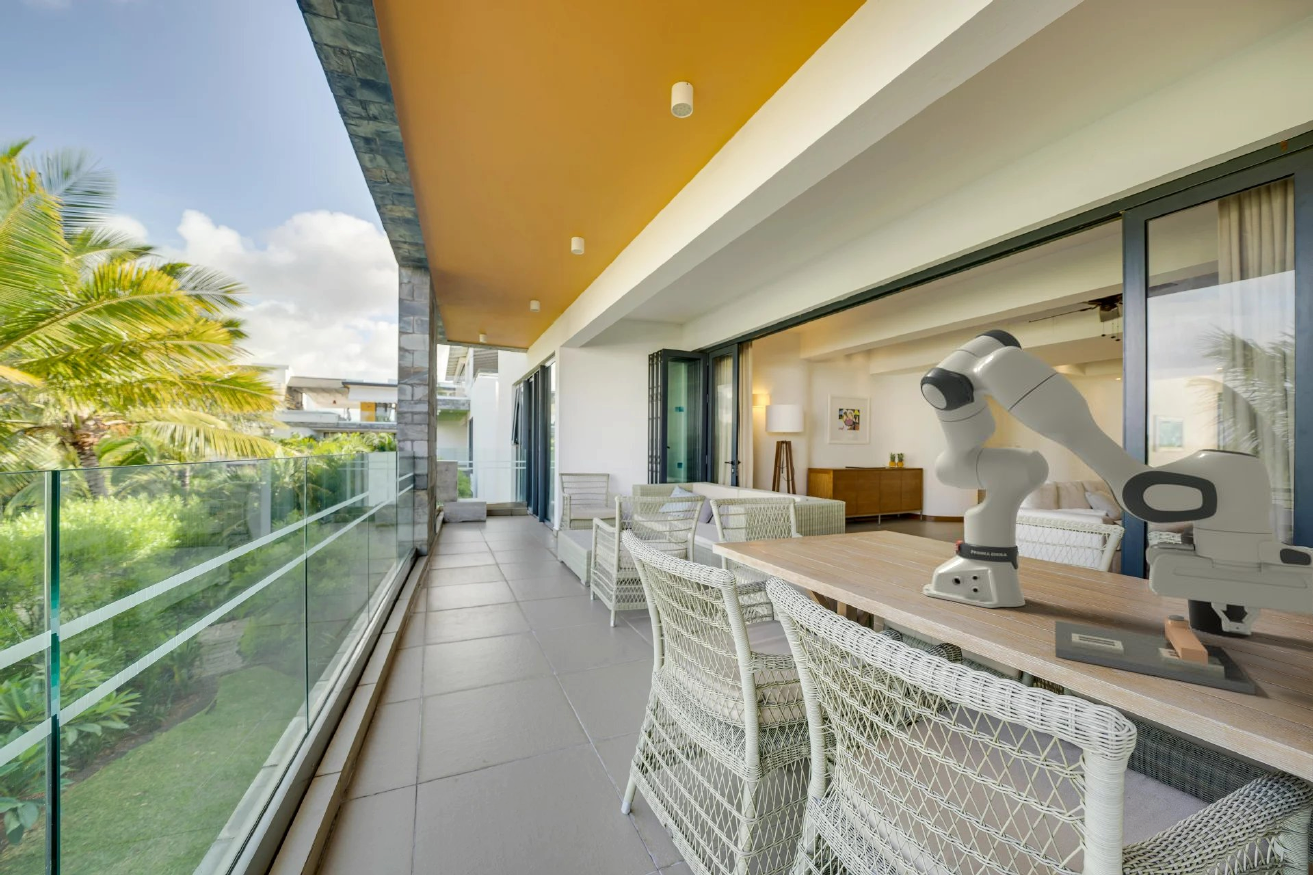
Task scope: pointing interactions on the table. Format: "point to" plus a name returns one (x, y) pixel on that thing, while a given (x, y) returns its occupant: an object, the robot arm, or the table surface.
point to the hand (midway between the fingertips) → (1236, 632)
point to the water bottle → (1210, 607)
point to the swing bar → (1184, 640)
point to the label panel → (1147, 656)
